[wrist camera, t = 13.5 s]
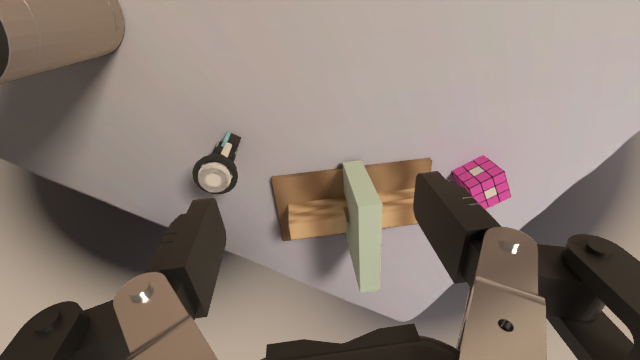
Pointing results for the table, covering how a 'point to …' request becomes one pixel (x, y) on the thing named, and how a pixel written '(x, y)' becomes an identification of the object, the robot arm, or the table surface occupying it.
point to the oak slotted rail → (343, 198)
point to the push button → (218, 167)
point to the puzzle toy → (483, 181)
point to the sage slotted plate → (363, 225)
